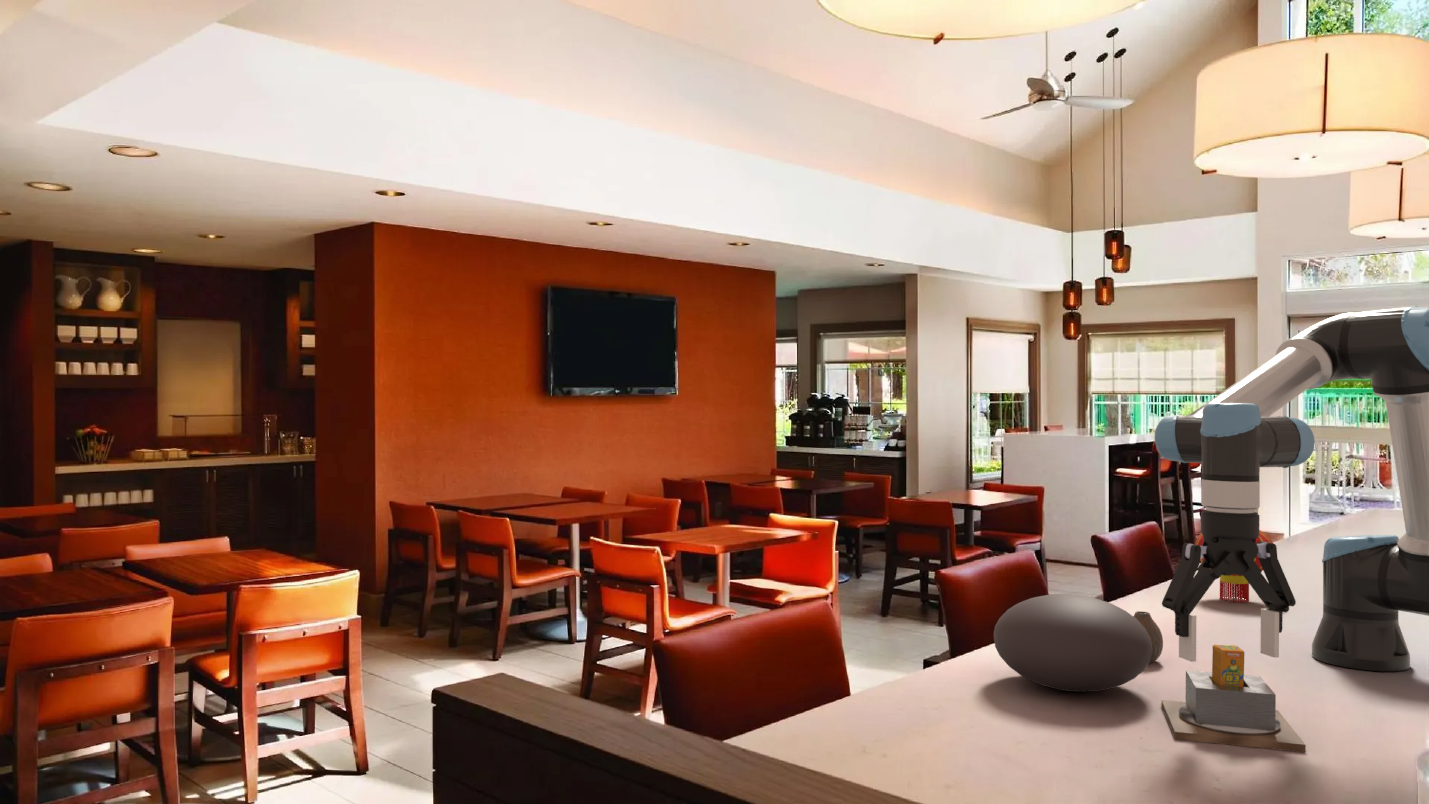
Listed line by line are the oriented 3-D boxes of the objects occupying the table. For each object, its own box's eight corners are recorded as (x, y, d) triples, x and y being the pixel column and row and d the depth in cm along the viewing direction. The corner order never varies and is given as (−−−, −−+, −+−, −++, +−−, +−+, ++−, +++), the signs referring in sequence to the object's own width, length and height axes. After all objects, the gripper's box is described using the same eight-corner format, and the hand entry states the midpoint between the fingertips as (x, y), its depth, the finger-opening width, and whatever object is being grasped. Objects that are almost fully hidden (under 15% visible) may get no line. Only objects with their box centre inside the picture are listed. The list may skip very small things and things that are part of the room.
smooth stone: (1145, 675, 172) (1146, 588, 173) (1159, 716, 149) (1159, 616, 149) (997, 661, 180) (998, 579, 181) (987, 699, 157) (988, 604, 157)
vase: (1167, 666, 178) (1167, 617, 178) (1126, 664, 180) (1126, 615, 180) (1158, 657, 185) (1158, 609, 185) (1118, 654, 187) (1118, 607, 187)
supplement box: (1220, 719, 142) (1220, 649, 142) (1210, 712, 146) (1210, 643, 146) (1244, 720, 142) (1245, 649, 142) (1234, 713, 145) (1234, 644, 146)
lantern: (1184, 592, 251) (1185, 473, 252) (1258, 595, 249) (1259, 474, 249) (1208, 605, 234) (1209, 478, 235) (1287, 608, 232) (1288, 479, 232)
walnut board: (1278, 717, 149) (1278, 710, 149) (1305, 752, 134) (1305, 744, 134) (1161, 706, 154) (1161, 700, 154) (1174, 739, 139) (1174, 731, 139)
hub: (1269, 712, 148) (1269, 674, 148) (1290, 740, 136) (1290, 698, 136) (1173, 703, 152) (1173, 666, 152) (1185, 729, 140) (1185, 689, 140)
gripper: (1284, 506, 150) (1283, 647, 150) (1136, 508, 145) (1135, 654, 145) (1324, 511, 143) (1323, 659, 143) (1170, 513, 138) (1169, 667, 138)
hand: (1228, 657), depth 144 cm, fingers open, 13 cm apart
